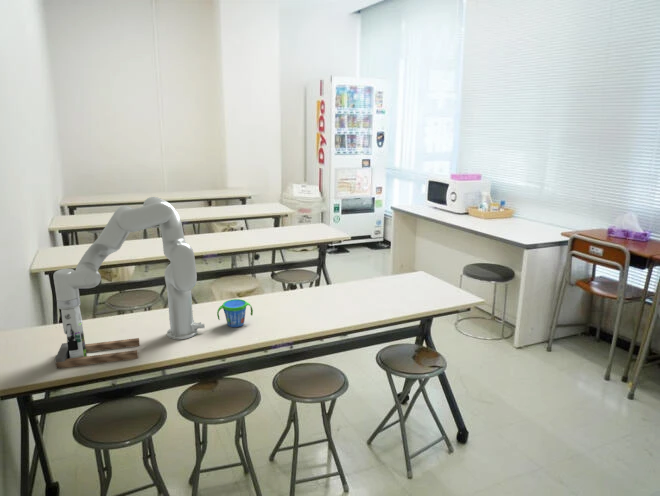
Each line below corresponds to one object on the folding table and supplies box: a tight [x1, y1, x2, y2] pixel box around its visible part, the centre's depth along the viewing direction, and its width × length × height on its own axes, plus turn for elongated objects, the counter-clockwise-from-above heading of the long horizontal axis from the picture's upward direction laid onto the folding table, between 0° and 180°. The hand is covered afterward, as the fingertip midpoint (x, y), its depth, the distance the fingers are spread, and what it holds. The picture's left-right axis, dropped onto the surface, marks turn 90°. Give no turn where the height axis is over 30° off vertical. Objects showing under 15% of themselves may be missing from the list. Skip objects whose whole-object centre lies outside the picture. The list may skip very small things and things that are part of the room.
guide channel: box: [54, 337, 141, 370], centre depth 190 cm, size 28×13×4 cm, turn 108°
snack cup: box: [216, 298, 254, 328], centre depth 218 cm, size 16×11×10 cm
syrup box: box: [65, 320, 88, 358], centre depth 186 cm, size 6×6×14 cm
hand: (75, 345), depth 187 cm, fingers open, 6 cm apart
